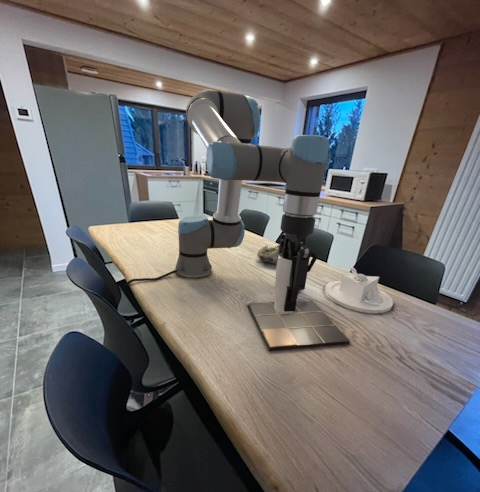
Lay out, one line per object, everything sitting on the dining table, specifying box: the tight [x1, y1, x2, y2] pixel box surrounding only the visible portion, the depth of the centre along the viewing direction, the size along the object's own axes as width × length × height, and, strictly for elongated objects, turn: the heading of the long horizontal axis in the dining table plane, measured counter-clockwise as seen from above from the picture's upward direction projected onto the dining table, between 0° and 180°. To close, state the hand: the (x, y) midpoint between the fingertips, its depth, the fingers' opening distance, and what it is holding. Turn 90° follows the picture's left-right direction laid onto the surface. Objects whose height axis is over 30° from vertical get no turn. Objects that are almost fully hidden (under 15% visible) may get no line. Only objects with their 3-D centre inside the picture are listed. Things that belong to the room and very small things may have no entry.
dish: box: [324, 266, 394, 314], centre depth 101 cm, size 25×25×11 cm
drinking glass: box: [273, 253, 297, 314], centre depth 67 cm, size 7×7×15 cm
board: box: [247, 300, 351, 352], centre depth 83 cm, size 24×24×1 cm
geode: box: [256, 244, 279, 265], centre depth 133 cm, size 17×9×15 cm
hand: (284, 304), depth 69 cm, fingers closed on drinking glass, 6 cm apart
